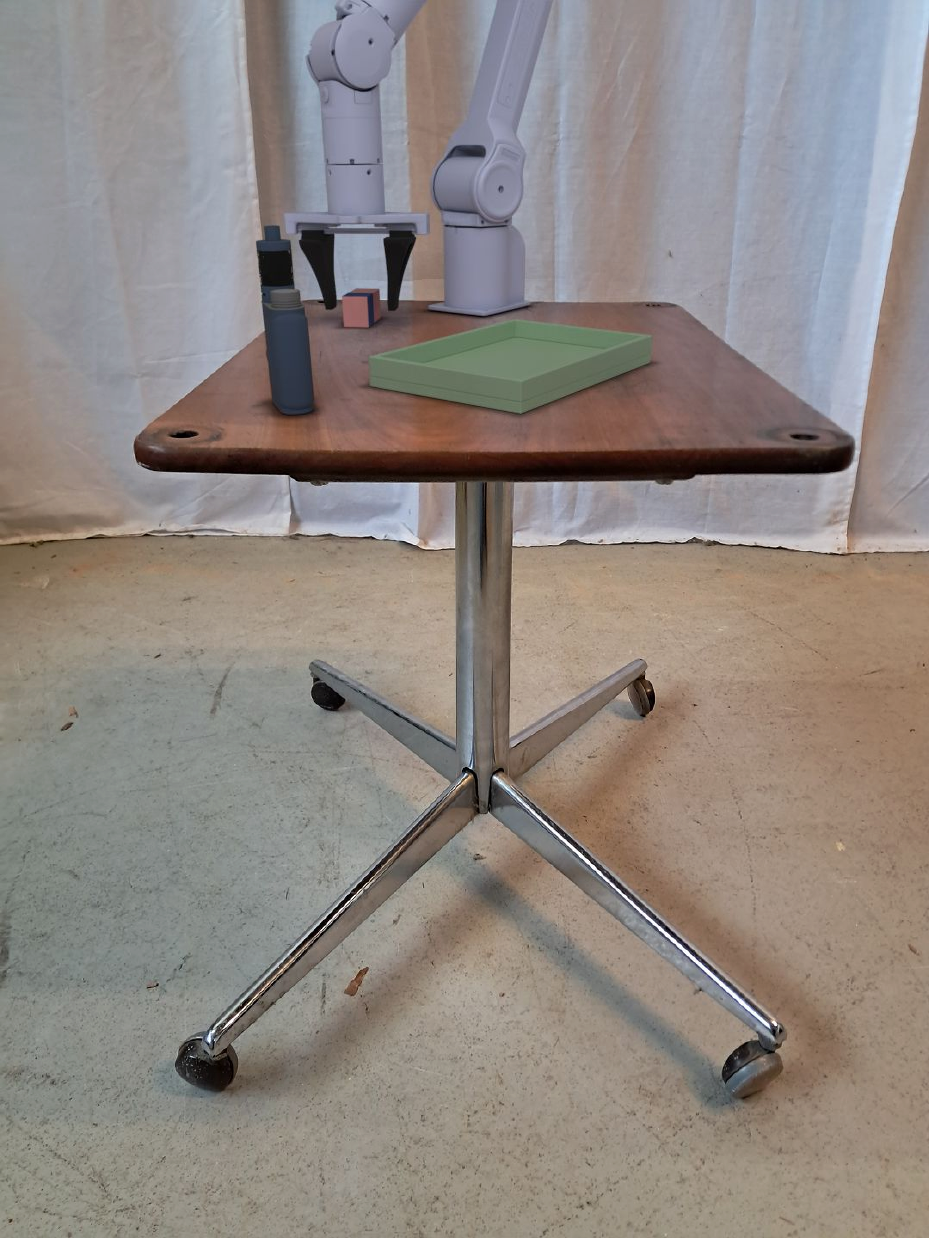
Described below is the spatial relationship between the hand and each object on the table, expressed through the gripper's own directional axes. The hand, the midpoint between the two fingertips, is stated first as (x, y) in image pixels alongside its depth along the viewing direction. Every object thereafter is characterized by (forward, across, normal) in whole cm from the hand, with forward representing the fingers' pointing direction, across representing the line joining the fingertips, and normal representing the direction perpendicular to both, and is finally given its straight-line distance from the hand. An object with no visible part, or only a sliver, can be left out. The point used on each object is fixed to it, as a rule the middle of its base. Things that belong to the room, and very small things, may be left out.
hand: (362, 309), depth 96 cm
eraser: (+1, 0, 0) cm, 1 cm away
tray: (+1, +18, -22) cm, 29 cm away
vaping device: (+2, +3, -34) cm, 34 cm away
